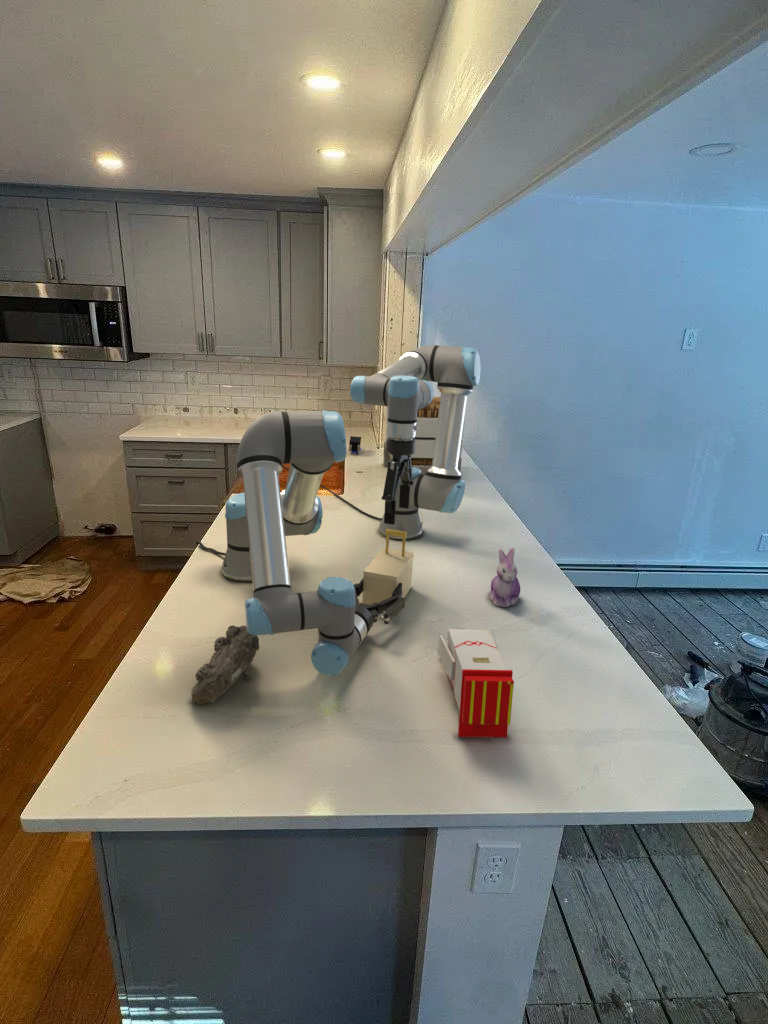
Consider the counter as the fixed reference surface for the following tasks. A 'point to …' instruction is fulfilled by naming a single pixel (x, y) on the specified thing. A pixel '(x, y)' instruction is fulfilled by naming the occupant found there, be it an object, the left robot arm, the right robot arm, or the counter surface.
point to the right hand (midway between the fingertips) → (396, 515)
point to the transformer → (424, 436)
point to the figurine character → (354, 444)
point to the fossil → (225, 664)
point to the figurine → (505, 581)
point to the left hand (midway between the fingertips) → (383, 584)
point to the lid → (390, 560)
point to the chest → (385, 586)
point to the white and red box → (478, 682)
